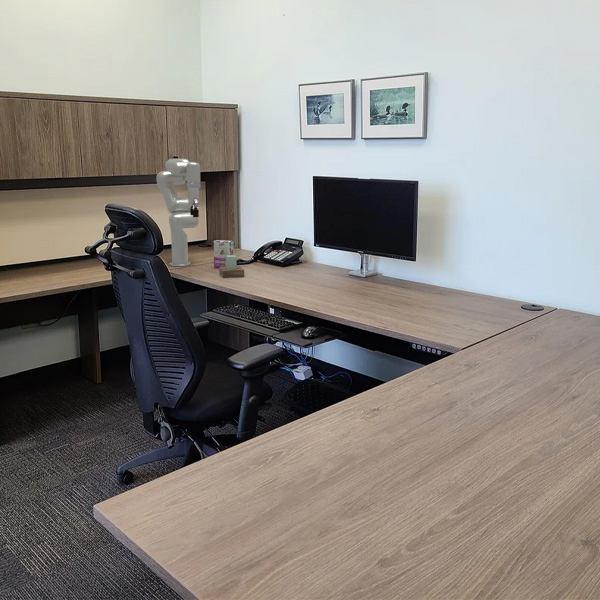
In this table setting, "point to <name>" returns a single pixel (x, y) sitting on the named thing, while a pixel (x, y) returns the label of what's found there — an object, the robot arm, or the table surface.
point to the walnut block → (231, 272)
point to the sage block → (231, 262)
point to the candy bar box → (222, 252)
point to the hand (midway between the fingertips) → (194, 216)
